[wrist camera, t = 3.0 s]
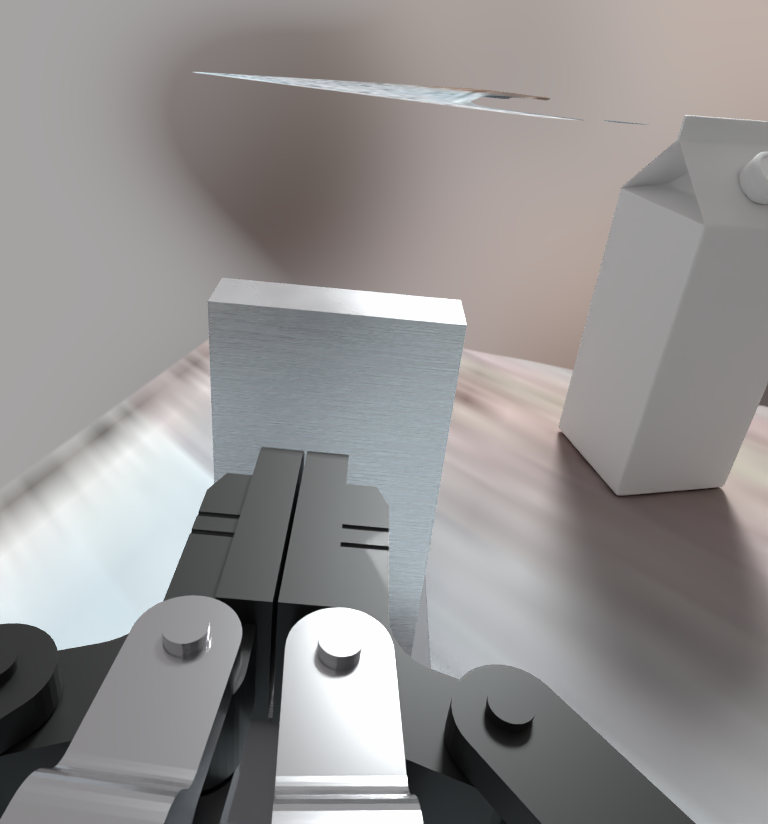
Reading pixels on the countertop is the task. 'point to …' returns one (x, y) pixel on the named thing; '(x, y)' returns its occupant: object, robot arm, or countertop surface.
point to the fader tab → (342, 399)
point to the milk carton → (678, 316)
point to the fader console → (260, 756)
